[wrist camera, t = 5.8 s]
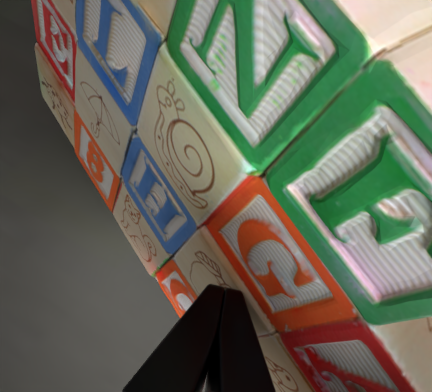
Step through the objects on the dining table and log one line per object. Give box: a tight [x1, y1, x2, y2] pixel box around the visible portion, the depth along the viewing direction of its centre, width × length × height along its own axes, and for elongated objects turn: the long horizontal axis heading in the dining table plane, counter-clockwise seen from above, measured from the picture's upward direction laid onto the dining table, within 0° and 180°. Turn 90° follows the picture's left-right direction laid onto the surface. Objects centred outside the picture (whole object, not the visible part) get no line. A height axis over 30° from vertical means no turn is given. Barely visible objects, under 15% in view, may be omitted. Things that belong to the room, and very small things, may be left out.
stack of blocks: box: [31, 0, 432, 392], centre depth 10 cm, size 21×6×12 cm, turn 34°
